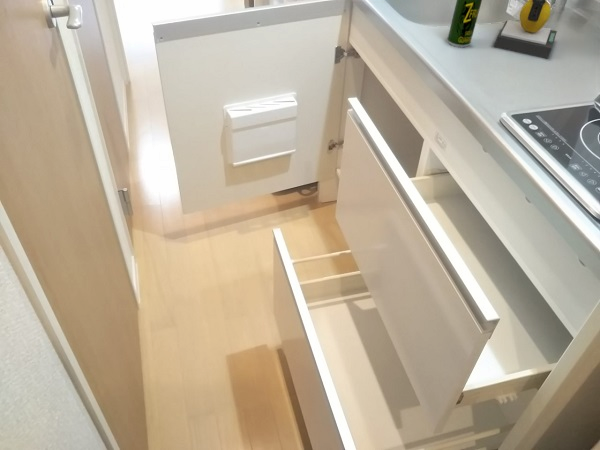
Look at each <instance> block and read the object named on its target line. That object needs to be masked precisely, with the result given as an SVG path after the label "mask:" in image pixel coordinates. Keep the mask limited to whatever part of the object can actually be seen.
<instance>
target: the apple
mask: <svg viewBox="0 0 600 450" xmlns="http://www.w3.org/2000/svg"><path fill="white" fill-rule="evenodd" d="M545 1H546V2H545V3H544V5H543V7H542V10H541V13H540V16H539V19H538V21H536V22H534V21H529V20H528V16H529V13H530V10H531V7H532V4H533V3H532V0H527V1H526V2H525V4H524V5H522V7H521V10H520V12H519V22H520V23H521V27H522V28H523V29H524V30H525V31H528V32H531V33H535V32H537V31H539V30H540V29H541V28H542V27H544V26H545V25H546V23H547V22H548V21H549V19H550V17H551V11H552V9H551V8H552V7H551V5H550V3H549V2H548V1H547V0H545Z"/></svg>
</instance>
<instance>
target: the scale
mask: <svg viewBox="0 0 600 450" xmlns="http://www.w3.org/2000/svg"><path fill="white" fill-rule="evenodd" d="M500 29H501V30H500V32H499V33H498V35H497V37H496V41H495V43H494V47H495V48H499V49H502V50H506V51H507V50H508V51H512V52H516V53H520V54H525V55H529V56H534V57H538V58H544V59H549V56H550V55H551V54H550V53H551V52H552V49H553V46H554V42H555V39H556V37H557V33H558V31H557V30H555V29H554V30H553V29H551V28H550V27H549V28H548V27H544V26H543V27H542V28H541V29H540V30H539V31H537V32H535V33H531V32H528V31H525V30H524V29H523V28H522V27H521V23H520V21H516V20H515V21H514V20H511V19H508V20H505V21H504V24H503V26H502V27H501V28H500Z"/></svg>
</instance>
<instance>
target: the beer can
mask: <svg viewBox="0 0 600 450" xmlns="http://www.w3.org/2000/svg"><path fill="white" fill-rule="evenodd" d="M455 2H456V3H455V6H454V11H453V14H452V19H451V23H450V27H449V32H448V34H447V35H448V36H447V43H448V44H449V45H450V46H452V47H456V48H467V47H469V45H470V44H471V43H472V39H473V35H474V31H475V28H476V24H477V21H478V17H479V13H480V10H481V6H482V2H483V0H456V1H455Z"/></svg>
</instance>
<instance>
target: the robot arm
mask: <svg viewBox="0 0 600 450" xmlns="http://www.w3.org/2000/svg"><path fill="white" fill-rule="evenodd" d="M546 1H547V0H532V3H533V4H532V7H531V10H530V13H529V16H528V20H529V21H534V22H536V21H538V19H539V16H540V13H541V10H542V7H543V5H544V3H545V2H546Z"/></svg>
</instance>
